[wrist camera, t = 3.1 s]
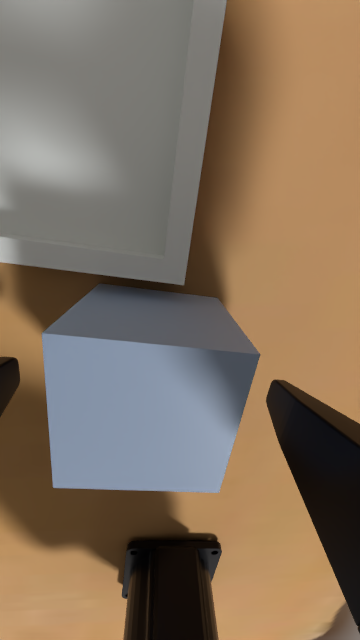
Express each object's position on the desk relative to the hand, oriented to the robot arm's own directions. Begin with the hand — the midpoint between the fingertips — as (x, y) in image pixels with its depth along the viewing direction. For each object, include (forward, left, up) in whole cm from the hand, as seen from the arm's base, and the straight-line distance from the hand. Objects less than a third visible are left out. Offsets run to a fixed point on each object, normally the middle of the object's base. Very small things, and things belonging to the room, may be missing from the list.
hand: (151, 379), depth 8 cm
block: (0, 0, -3) cm, 3 cm away
